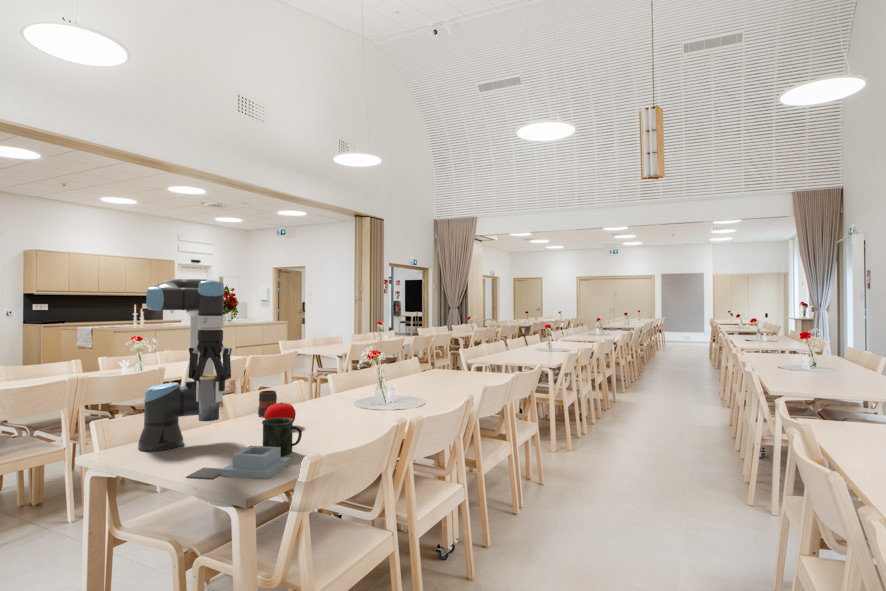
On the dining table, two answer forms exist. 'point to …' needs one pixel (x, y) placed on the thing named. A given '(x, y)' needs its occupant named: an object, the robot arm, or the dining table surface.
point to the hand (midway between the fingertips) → (209, 400)
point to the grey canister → (208, 398)
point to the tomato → (280, 411)
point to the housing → (256, 462)
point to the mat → (206, 473)
